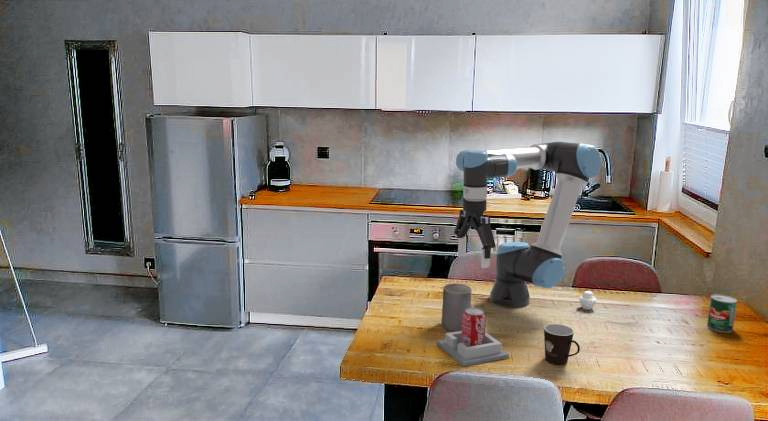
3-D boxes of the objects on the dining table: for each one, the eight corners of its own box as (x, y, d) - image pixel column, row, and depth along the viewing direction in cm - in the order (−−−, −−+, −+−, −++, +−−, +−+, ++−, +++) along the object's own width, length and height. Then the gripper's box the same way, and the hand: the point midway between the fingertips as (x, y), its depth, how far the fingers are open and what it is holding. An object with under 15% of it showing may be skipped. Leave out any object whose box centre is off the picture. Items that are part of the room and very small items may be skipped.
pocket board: (480, 336, 185) (481, 325, 184) (508, 357, 171) (509, 344, 170) (437, 344, 179) (437, 332, 178) (463, 366, 165) (463, 353, 164)
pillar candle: (440, 319, 199) (442, 279, 196) (468, 320, 199) (470, 280, 195) (442, 331, 189) (444, 289, 186) (471, 332, 189) (473, 289, 186)
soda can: (485, 344, 177) (487, 308, 174) (481, 353, 170) (484, 316, 168) (463, 340, 179) (465, 305, 177) (458, 350, 173) (460, 313, 170)
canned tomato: (731, 326, 198) (735, 296, 196) (734, 334, 191) (739, 303, 189) (705, 322, 201) (709, 292, 199) (707, 330, 194) (712, 299, 192)
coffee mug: (537, 354, 173) (539, 324, 171) (564, 353, 174) (566, 323, 172) (551, 372, 162) (554, 340, 160) (580, 371, 163) (583, 339, 161)
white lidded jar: (597, 311, 209) (599, 293, 208) (581, 311, 209) (582, 293, 208) (592, 305, 215) (594, 288, 214) (576, 305, 215) (577, 287, 214)
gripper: (444, 193, 191) (443, 253, 195) (488, 207, 169) (486, 274, 173) (463, 191, 194) (462, 250, 198) (508, 204, 172) (505, 270, 176)
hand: (473, 261), depth 186 cm, fingers open, 13 cm apart
